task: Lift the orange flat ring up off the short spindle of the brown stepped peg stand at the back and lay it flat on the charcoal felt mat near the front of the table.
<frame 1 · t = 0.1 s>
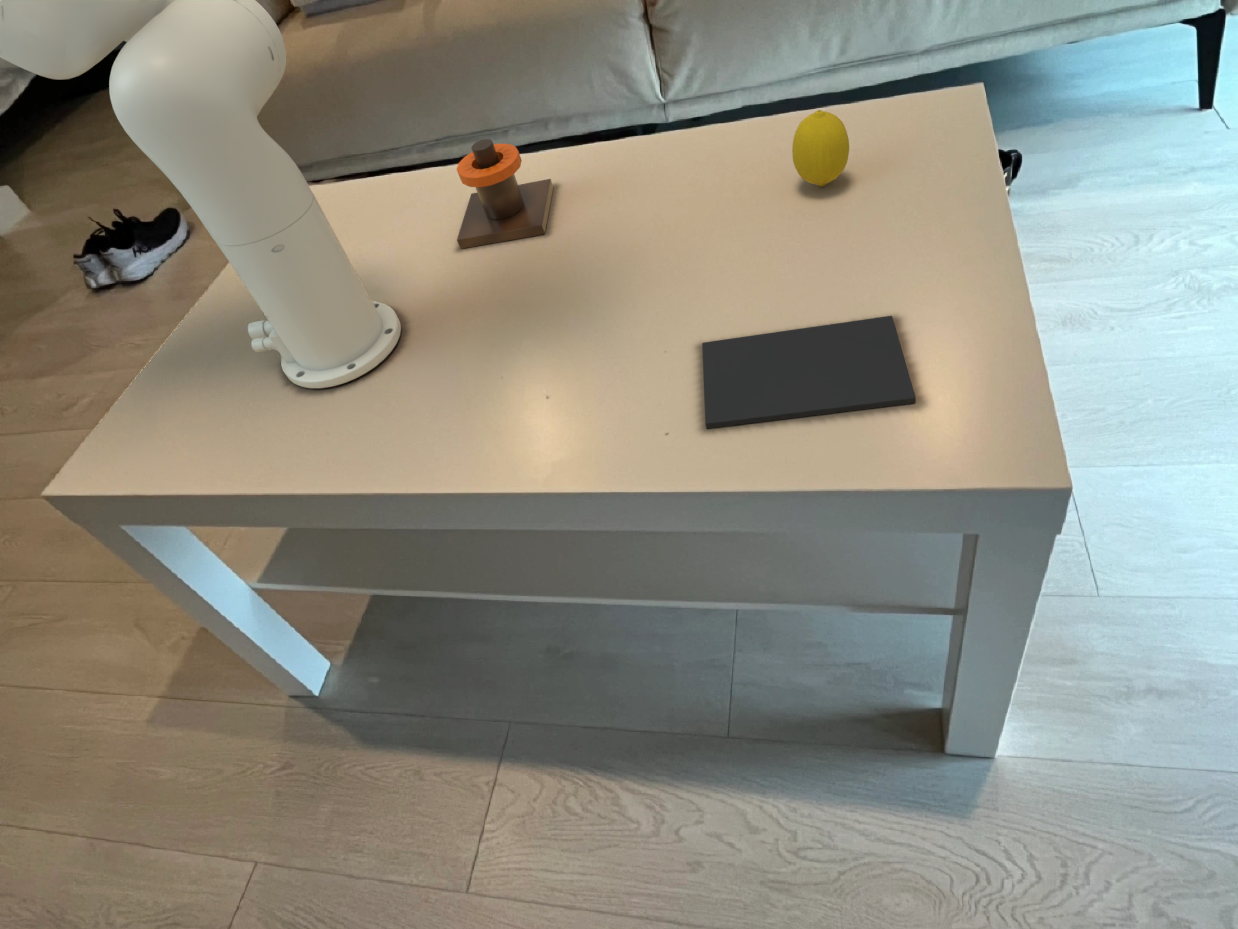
orange flat ring: (491, 169, 90), point 6 cm above the table, touching brown stepped peg stand
mat: (801, 373, 67), on the table
brown stepped peg stand: (508, 217, 95), on the table
lemon: (822, 187, 85), on the table
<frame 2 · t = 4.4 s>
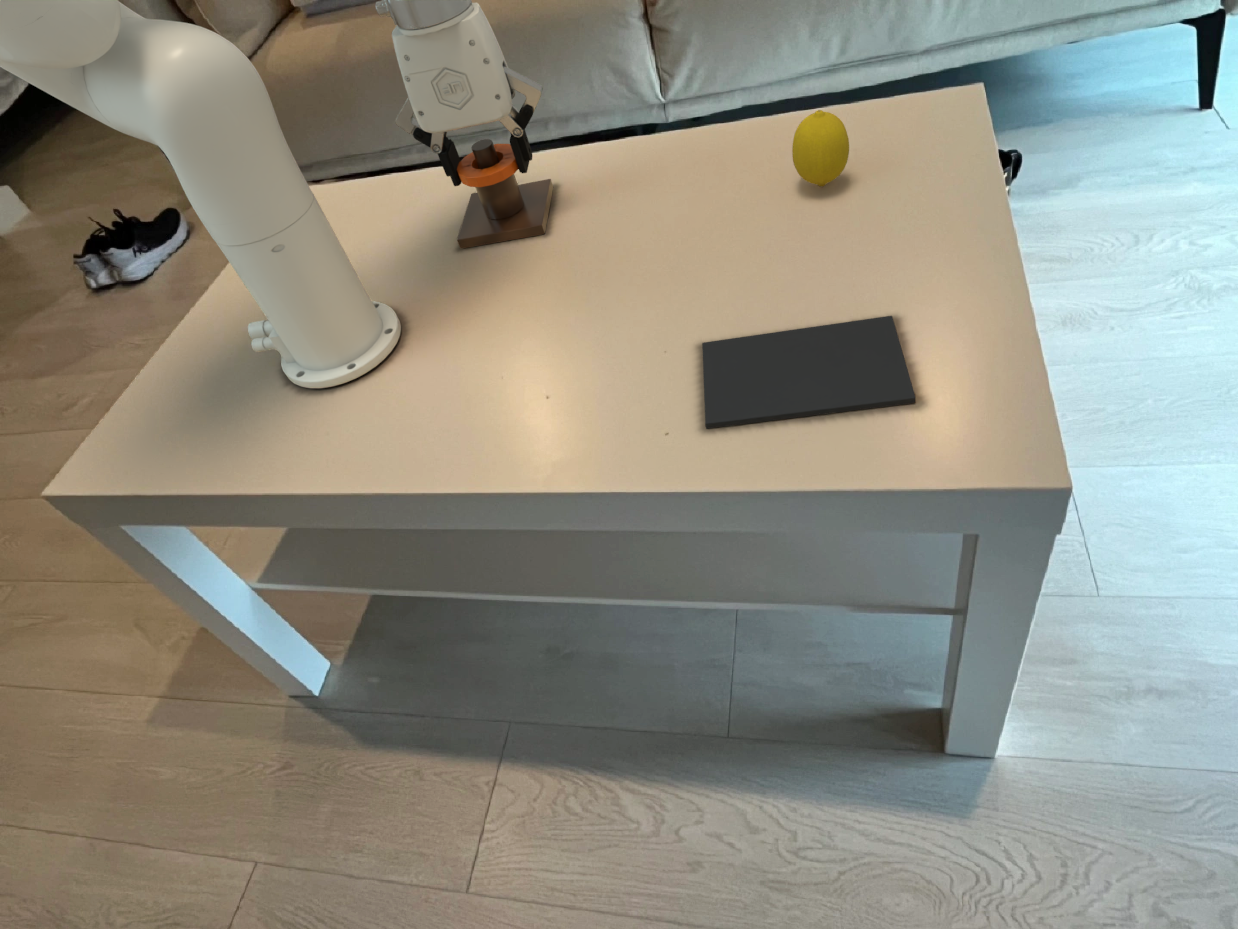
hand: (492, 172, 90), 6 cm above the table, tool pointing down, fingers closed on orange flat ring, 7 cm apart
orange flat ring: (491, 169, 90), point 6 cm above the table, touching gripper, brown stepped peg stand
everything else where it was.
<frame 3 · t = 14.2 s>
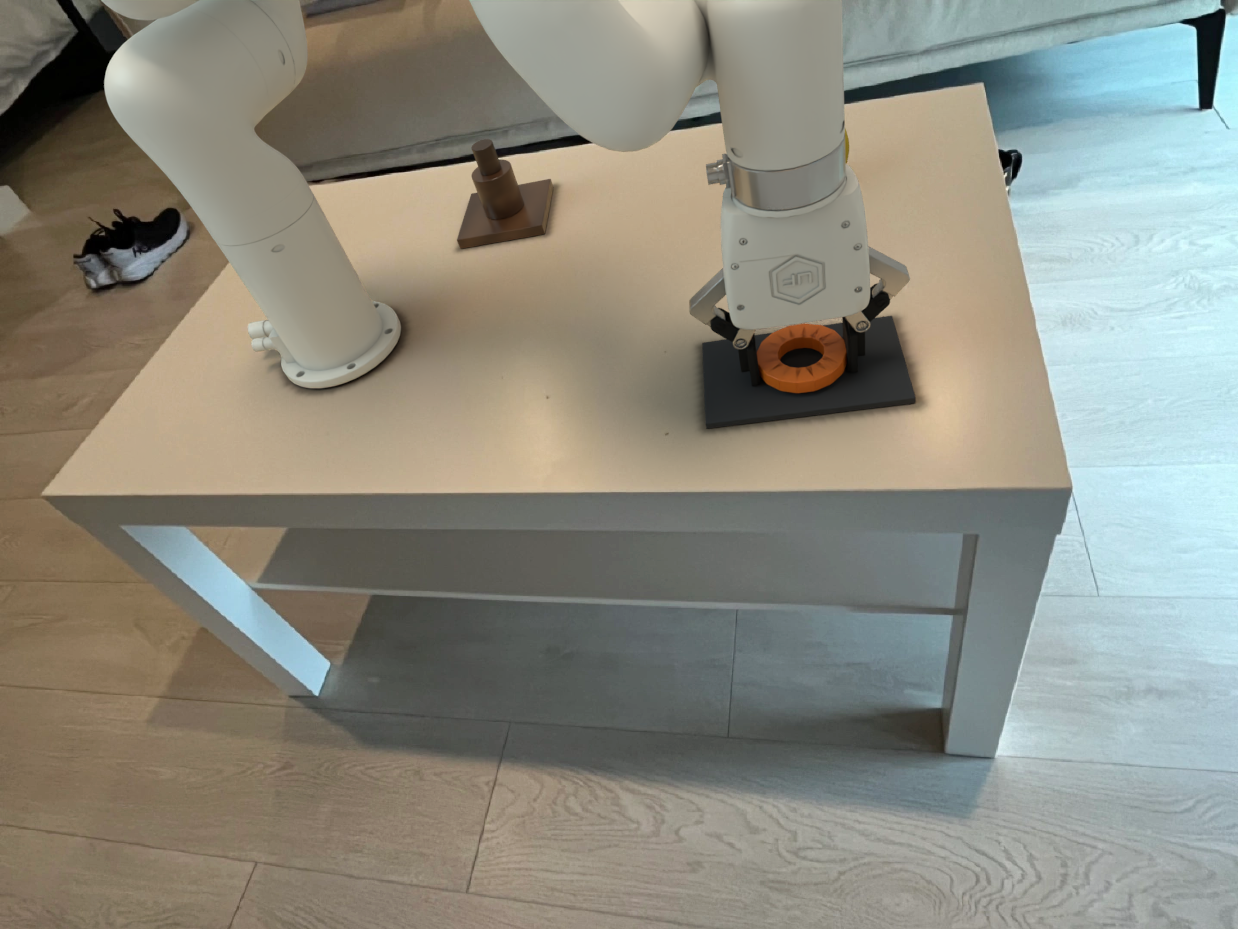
hand: (802, 366, 66), 1 cm above the table, tool pointing down, fingers closed on orange flat ring, 7 cm apart
orange flat ring: (801, 363, 66), point 1 cm above the table, touching gripper
everything else where it was.
when the fingers open (2 cm above the table, at t = 25.6 s): orange flat ring drops 2 cm, resting on mat.
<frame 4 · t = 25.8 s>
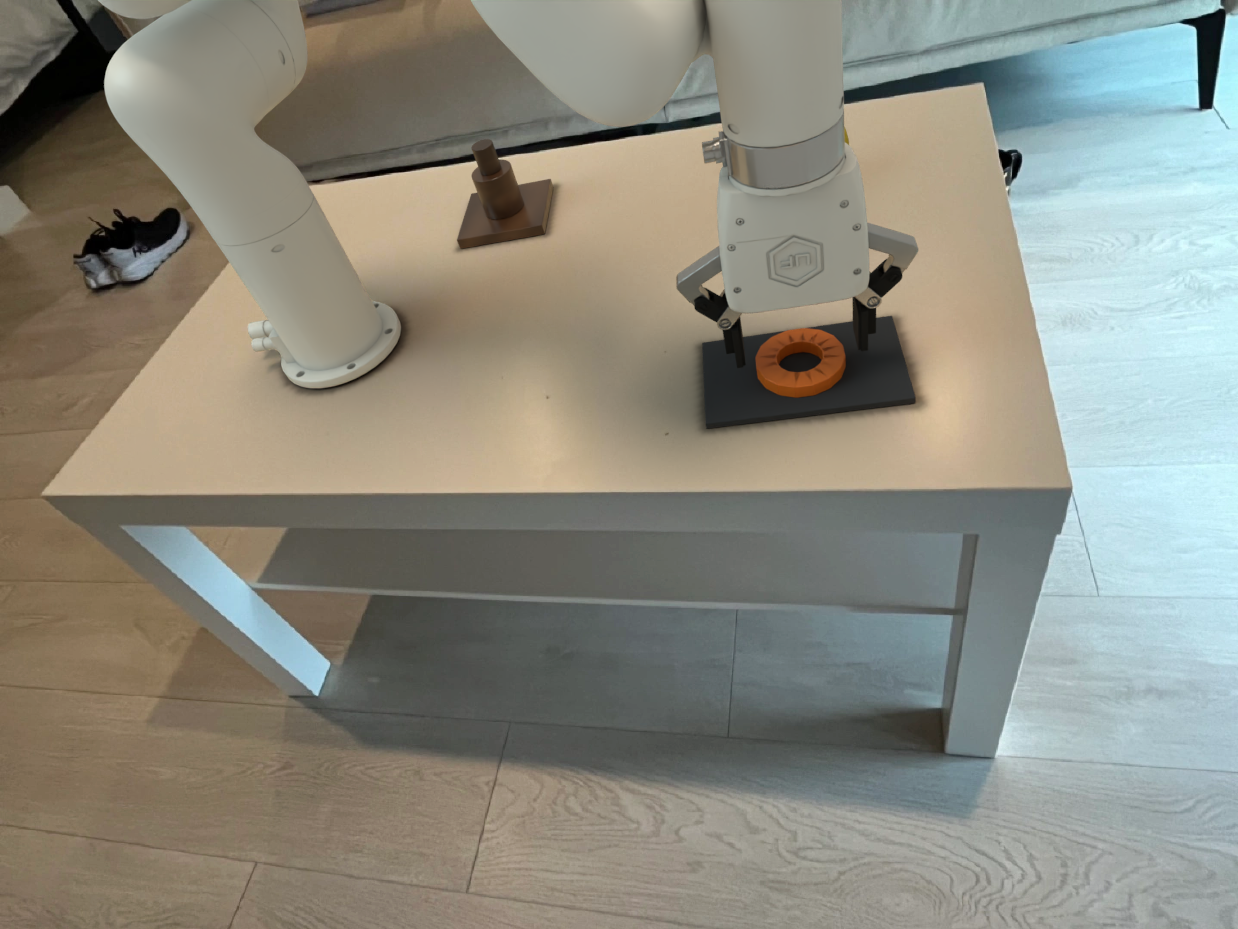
hand: (799, 347, 65), 3 cm above the table, tool pointing down, fingers open, 9 cm apart
orange flat ring: (800, 367, 67), point 1 cm above the table, touching mat
everything else where it was.
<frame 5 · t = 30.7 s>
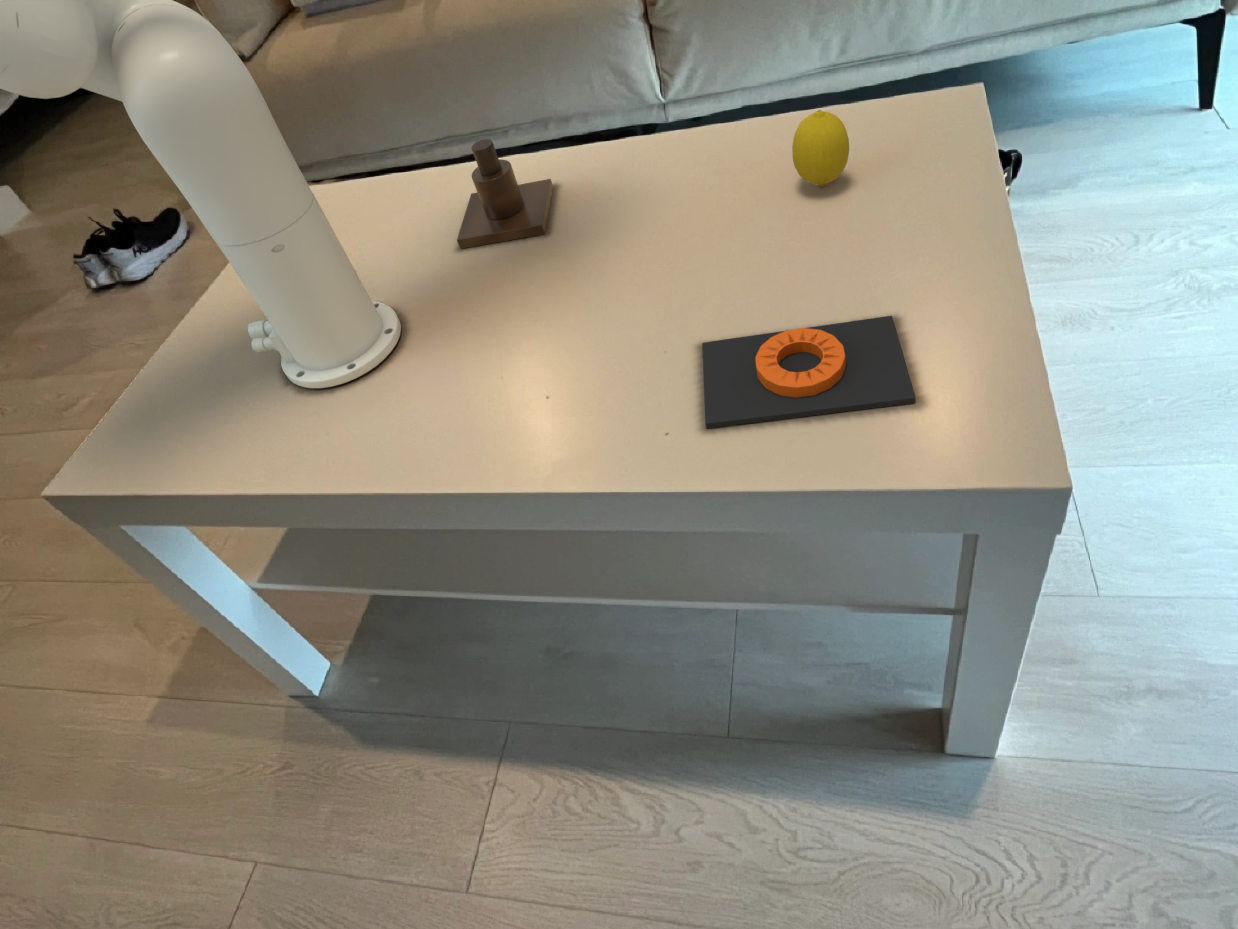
nothing on the table moved.
at the end: orange flat ring inside the target area on the mat (0.1 cm from its centre), point 0.6 cm above the mat's base; orange flat ring tilted 0°; the gripper is holding nothing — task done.
